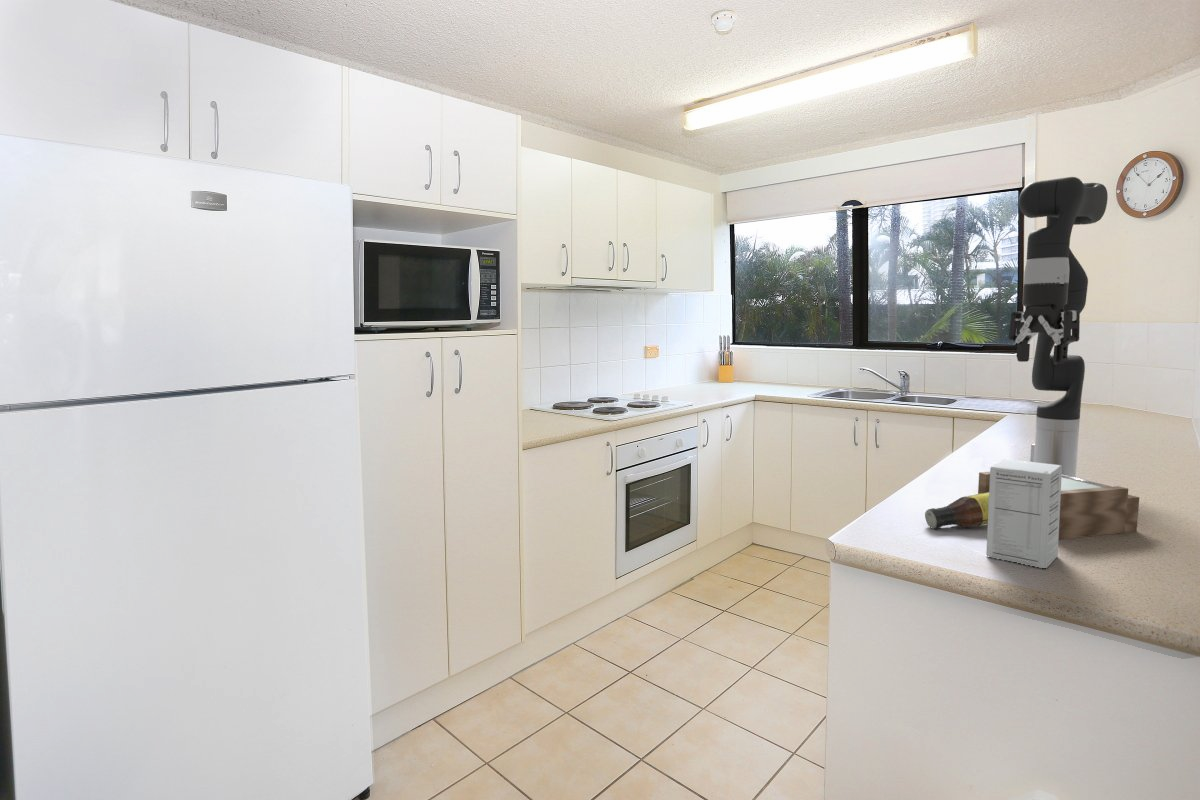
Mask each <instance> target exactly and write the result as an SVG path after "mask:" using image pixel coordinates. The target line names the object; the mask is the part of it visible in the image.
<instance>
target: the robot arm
mask: <svg viewBox="0 0 1200 800" xmlns="http://www.w3.org/2000/svg"><path fill="white" fill-rule="evenodd" d="M1108 194H1109V193H1108V190H1107V188H1106V186H1105V185H1104V184H1103V183H1099V182H1084V183H1083V181H1082V180H1081V179H1080V178H1078V177H1076V176H1068V177H1060V178H1053V179H1052V178H1051V179H1045V180H1036V181H1033V182H1030V183H1028V184H1027V185H1026V186H1024V188H1023V189H1022V190H1021V192H1020V194H1019V197H1018V206H1019V209H1020V212H1021V213H1022V215H1024V216H1025V217H1027V218H1030V219H1034V218H1035V219H1037V218H1044V217H1046V227H1041V228H1038V229H1034V230H1033V231H1031V232H1030V233H1029V234H1028V237H1027V244H1026V245H1027V247H1026V261H1025V262H1026V263H1025V267H1024V273H1023V285H1022V286H1023V289H1022V306H1023V307H1025V310H1024V311H1012V312H1011V313H1010V324H1009V330H1008V340H1009V341H1014V342H1015V343H1016V358H1017V362H1020V363H1021V362H1022V363H1023V362H1025V363H1026V362H1029V361H1030V352H1031V351H1030V349H1031V344H1030V342H1031V340H1032V339H1033V337H1034V336H1035V337H1036V336H1037V337H1036V338H1037V340H1036V346H1035V351H1034V357H1033V364H1032V369H1031V382H1032V386H1033V388H1034V389H1035V390H1037V391H1047V392H1049V391H1051V392H1065V394H1064V395H1063V396H1062V397H1060V398H1058V399H1057V400H1052V401H1050V402H1045V403H1042V404H1039V405H1038V406H1037V408H1036V413H1035V414H1036V415H1035V432H1034V433H1035V434H1034V443H1032V444H1031V445H1030V446H1031V447H1030V458H1029V459H1030V460H1029V462H1036V463H1045V464H1054V465H1062V474H1063V475H1067V476H1071V477H1075V478H1077V468H1078V467H1077V465H1078V464H1077V463H1078V453H1079V438H1080V437H1079V436H1080V421H1081V404H1082V393H1083V386H1084V381H1085V372H1086V371H1085V368H1086V365H1085V360H1084V358H1083V357H1082V356H1081V355H1076V354H1069V353H1068V352H1069V345H1070V344H1071V343H1075V342H1079V341H1080V329H1081V328H1080V326H1081V324H1080V318H1081V315H1080V314H1081V313H1082V311H1083V310H1084V309H1085V307H1086V302H1087V294H1088V287H1089V278H1088V276H1087V273H1086V271H1085V270H1084V268H1083V266H1082V264H1081V263H1080V261H1079V259H1077V258H1076V256H1075V255H1074V253H1073V251H1072V250H1071V248H1070V243H1071V236H1072V232H1073V231H1072V230H1073V228H1074V226H1075V225H1077V226H1078V225H1092V224H1096V223H1098V222H1099V221H1100V220H1101V219H1102V218H1103V216H1104V215H1105V213H1106V209H1107V205H1108V197H1109V196H1108ZM1052 350H1053V354H1052Z"/></svg>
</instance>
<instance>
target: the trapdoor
mask: <svg viewBox="0 0 1200 800" xmlns="http://www.w3.org/2000/svg"><path fill="white" fill-rule="evenodd" d="M1101 487H1113V486H1111V485H1108V484H1103V483H1099V482H1097V481H1096V482H1095V481H1091V480H1087V479H1084V478H1078V477H1076V478H1075V477H1071V476H1067V475H1063V474H1062V478H1061V491H1063V490H1076V489H1088V488H1101Z"/></svg>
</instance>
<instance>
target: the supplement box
mask: <svg viewBox="0 0 1200 800" xmlns="http://www.w3.org/2000/svg"><path fill="white" fill-rule="evenodd" d="M989 472H990V486H989V504H988V524H987V533H986V535H987V536H986V555H987V556H989V557H993V558H992V559H994V558H998V559H997V560H999V559H1003V560H1002V561H1004V560H1008V561H1012V562H1011V563H1013V562H1017V563H1016V564H1018V563H1021V564H1020V565H1023V564H1025V565H1024V566H1028V565H1030V566H1029V567H1032V566H1035V567H1034V568H1037V567H1039V568H1038V569H1042V568H1046V569H1047V568H1048V567H1049V566H1050V565H1051V564H1052V563H1053V562H1054V561H1055V559H1056V558H1057V557H1058V555H1059V540H1060V539H1059V518H1060V498H1061V478H1062V465H1054V464H1045V463H1036V462H1030V461H1025V460H1016V459H1007V458H1005V459H1003V460H1001V461H999V462H996V463H995V464H994V465H992V466H990V467H989ZM989 557H988V558H989ZM1008 561H1007V562H1008Z"/></svg>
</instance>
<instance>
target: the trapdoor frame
mask: <svg viewBox="0 0 1200 800" xmlns="http://www.w3.org/2000/svg"><path fill="white" fill-rule="evenodd" d="M989 486H990V471H983V472H978V485H977V488H978V489H977V494H981V493H986V492H989ZM1139 509H1140V496H1136V495H1131V494H1129V487H1123V486H1120V485H1116V486H1115V485H1114V486H1112V487H1101V488H1088V489H1076V490H1063V491H1061V498H1060V518H1059V539H1058V540H1061V539H1073V538H1074V537H1075V538H1082V537H1083V538H1084V536H1085V537H1095V536H1102V535H1103V536H1105V535H1113V534H1115V535H1116V534H1124V533H1125V534H1126V533H1134V532H1135V531H1136V532H1137V531H1138V530H1137V529H1138V520H1139V519H1138V517H1139Z"/></svg>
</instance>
